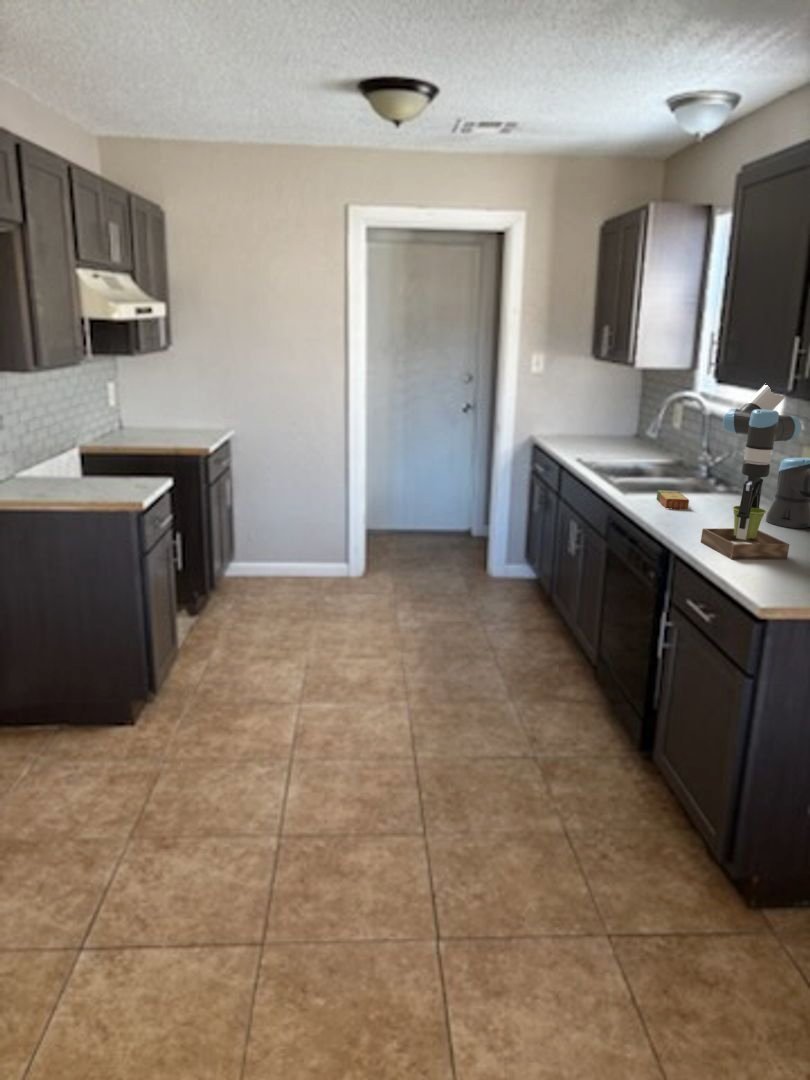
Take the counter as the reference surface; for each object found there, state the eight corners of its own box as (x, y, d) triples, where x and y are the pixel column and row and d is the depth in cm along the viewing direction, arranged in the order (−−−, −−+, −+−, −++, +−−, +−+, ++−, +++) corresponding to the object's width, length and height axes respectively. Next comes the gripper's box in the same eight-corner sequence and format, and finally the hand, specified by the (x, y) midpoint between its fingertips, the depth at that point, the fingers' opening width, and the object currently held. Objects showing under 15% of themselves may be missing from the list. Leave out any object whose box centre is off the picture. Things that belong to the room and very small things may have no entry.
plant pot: (730, 531, 257) (734, 503, 255) (762, 535, 253) (767, 508, 251) (726, 537, 250) (730, 509, 247) (759, 542, 245) (764, 514, 243)
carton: (665, 509, 303) (666, 498, 302) (655, 500, 319) (657, 489, 317) (688, 510, 303) (689, 499, 301) (677, 501, 318) (679, 490, 317)
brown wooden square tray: (752, 541, 263) (755, 528, 262) (787, 558, 246) (789, 544, 244) (700, 542, 260) (702, 528, 258) (731, 559, 243) (733, 544, 241)
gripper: (752, 456, 256) (740, 527, 262) (734, 464, 239) (722, 540, 245) (778, 459, 251) (765, 531, 258) (761, 468, 235) (749, 545, 241)
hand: (744, 535), depth 251 cm, fingers closed on plant pot, 8 cm apart
